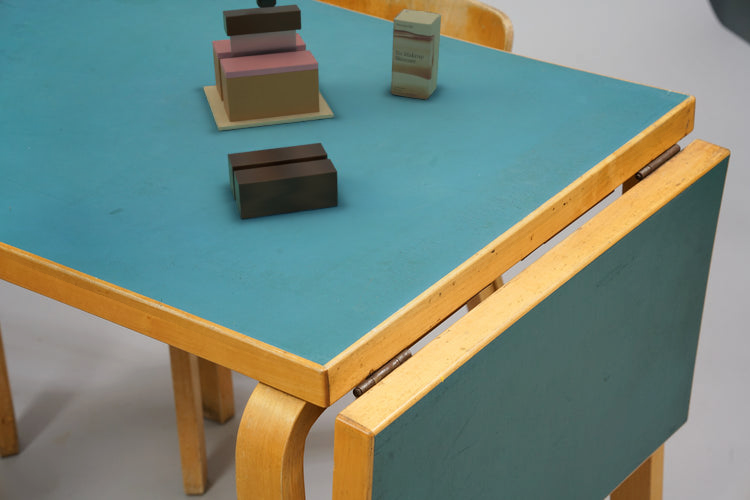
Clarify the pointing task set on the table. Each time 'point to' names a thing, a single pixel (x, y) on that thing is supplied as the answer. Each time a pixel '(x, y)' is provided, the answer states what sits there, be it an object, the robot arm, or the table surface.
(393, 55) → the cosmetic box
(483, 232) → the table surface
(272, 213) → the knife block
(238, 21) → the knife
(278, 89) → the pink slotted holder
